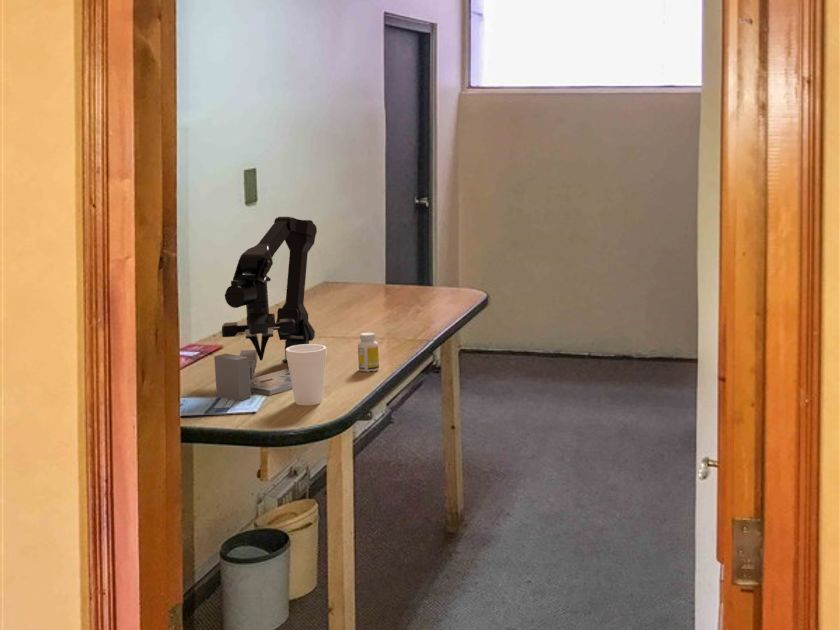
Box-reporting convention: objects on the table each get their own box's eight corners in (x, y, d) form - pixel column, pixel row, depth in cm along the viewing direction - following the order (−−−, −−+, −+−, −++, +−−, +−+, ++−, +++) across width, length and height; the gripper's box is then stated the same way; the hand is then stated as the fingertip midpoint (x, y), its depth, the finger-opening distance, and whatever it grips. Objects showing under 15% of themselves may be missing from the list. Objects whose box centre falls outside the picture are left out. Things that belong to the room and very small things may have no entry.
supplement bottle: (381, 368, 280) (380, 332, 278) (375, 372, 275) (374, 336, 273) (362, 367, 281) (361, 331, 279) (355, 371, 276) (354, 335, 274)
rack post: (227, 393, 257) (225, 353, 255) (250, 397, 252) (248, 357, 250) (216, 396, 254) (214, 356, 252) (239, 400, 249) (237, 360, 248)
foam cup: (284, 400, 249) (281, 346, 247) (320, 395, 253) (318, 342, 250) (295, 409, 241) (293, 354, 238) (333, 404, 244) (331, 349, 242)
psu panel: (285, 373, 276) (284, 368, 276) (321, 379, 268) (321, 373, 268) (233, 388, 262) (233, 382, 261) (270, 395, 254) (270, 389, 254)
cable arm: (242, 373, 276) (241, 349, 275) (258, 373, 277) (257, 348, 276) (235, 394, 254) (234, 368, 253) (253, 394, 255) (251, 367, 254)
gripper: (219, 308, 260) (223, 369, 263) (294, 303, 263) (298, 364, 266) (220, 301, 271) (225, 360, 274) (293, 296, 274) (296, 355, 277)
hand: (261, 360), depth 272 cm, fingers closed
